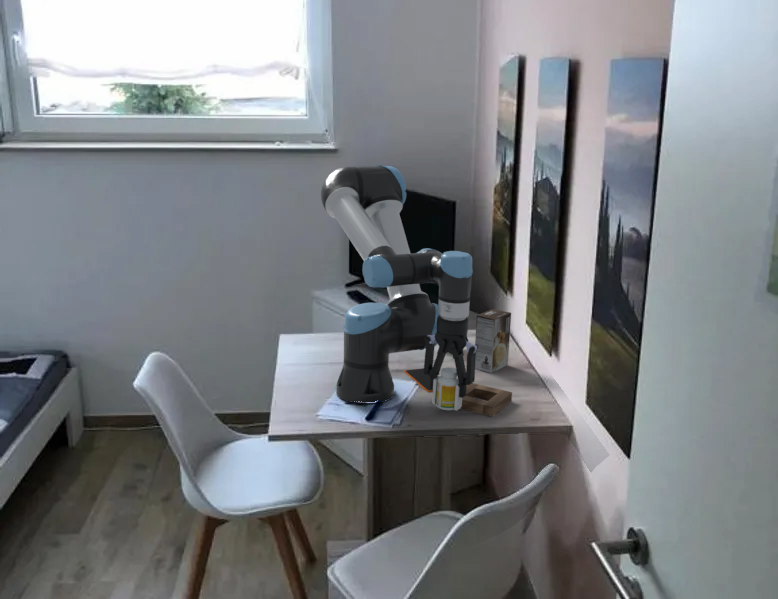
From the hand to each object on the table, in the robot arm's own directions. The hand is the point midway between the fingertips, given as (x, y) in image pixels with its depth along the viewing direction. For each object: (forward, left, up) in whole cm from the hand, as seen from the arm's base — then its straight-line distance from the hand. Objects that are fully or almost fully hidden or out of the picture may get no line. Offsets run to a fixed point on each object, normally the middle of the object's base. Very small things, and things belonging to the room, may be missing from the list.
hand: (446, 405), depth 209 cm
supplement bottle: (0, 0, -1) cm, 1 cm away
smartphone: (-14, +18, -3) cm, 23 cm away
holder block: (+5, +11, -2) cm, 12 cm away
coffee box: (-4, +38, -2) cm, 38 cm away
